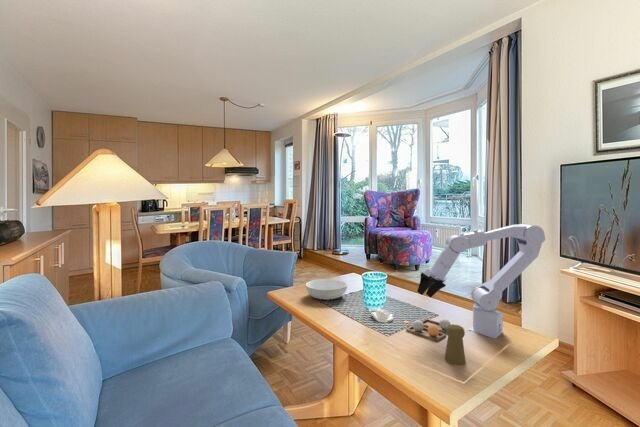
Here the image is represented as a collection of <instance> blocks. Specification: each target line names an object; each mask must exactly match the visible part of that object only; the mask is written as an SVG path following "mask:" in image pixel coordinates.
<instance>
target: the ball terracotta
mask: <svg viewBox="0 0 640 427" xmlns="http://www.w3.org/2000/svg"><path fill="white" fill-rule="evenodd" d="M427 331H428V334H429V335H430V336H432V337H436V336H437V335H438V334H439V329H438V327H437V326H435V325H430V326H429V327H428V329H427Z"/></svg>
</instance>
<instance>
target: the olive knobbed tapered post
mask: <svg viewBox="0 0 640 427" xmlns="http://www.w3.org/2000/svg"><path fill="white" fill-rule="evenodd" d="M446 333H447V334H446V336H447V340H446V346H445V347H446V348H445V353H444V361H445V362H447V363H448V364H451V365H454V366H462V365H465V364H466V357H465V347H464V339H463V338H464V337H465V329H464V327H462V326H461V325H460V324H451V325H449V326H448V327H447V329H446Z"/></svg>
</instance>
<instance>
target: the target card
mask: <svg viewBox="0 0 640 427" xmlns="http://www.w3.org/2000/svg"><path fill="white" fill-rule="evenodd" d="M402 323H404V324H409V323H410V321H408V320H404V321H402ZM411 326H413V323H412V324H411Z"/></svg>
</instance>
